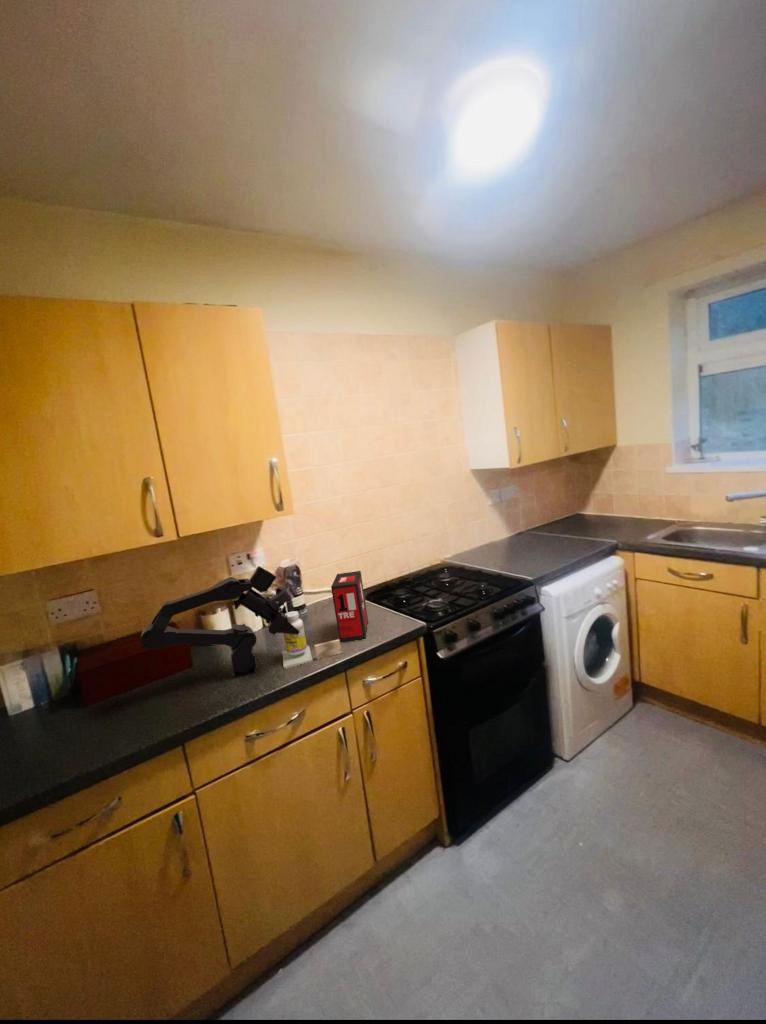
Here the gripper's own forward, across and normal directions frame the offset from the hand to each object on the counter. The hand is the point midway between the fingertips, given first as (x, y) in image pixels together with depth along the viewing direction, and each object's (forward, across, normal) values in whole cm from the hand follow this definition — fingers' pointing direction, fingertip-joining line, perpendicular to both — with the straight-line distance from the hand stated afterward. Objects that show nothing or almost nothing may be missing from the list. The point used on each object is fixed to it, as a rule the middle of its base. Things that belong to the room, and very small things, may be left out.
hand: (298, 629), depth 144 cm
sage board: (+5, 0, +8) cm, 9 cm away
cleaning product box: (+20, +10, -8) cm, 24 cm away
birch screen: (+12, -5, 0) cm, 13 cm away
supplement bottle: (+4, 0, +6) cm, 8 cm away
